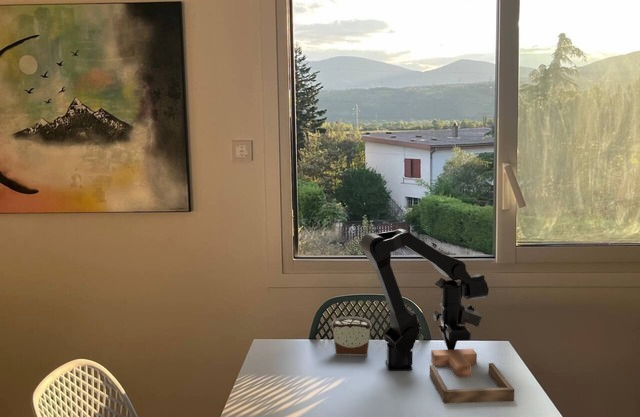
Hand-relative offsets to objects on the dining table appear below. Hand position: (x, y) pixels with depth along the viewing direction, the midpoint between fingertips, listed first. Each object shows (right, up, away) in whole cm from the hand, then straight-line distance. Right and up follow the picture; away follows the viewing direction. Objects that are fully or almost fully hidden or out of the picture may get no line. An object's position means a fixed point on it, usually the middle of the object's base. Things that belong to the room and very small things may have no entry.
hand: (450, 352), depth 178 cm
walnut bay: (+1, -4, -19) cm, 20 cm away
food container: (-28, -1, +7) cm, 29 cm away
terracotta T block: (0, -3, -7) cm, 7 cm away
